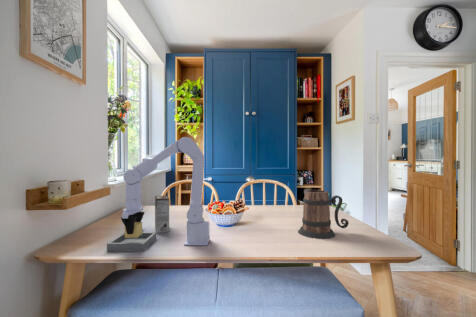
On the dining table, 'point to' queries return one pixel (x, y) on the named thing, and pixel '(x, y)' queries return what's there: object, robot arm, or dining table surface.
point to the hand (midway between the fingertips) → (133, 231)
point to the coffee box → (161, 214)
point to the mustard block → (135, 231)
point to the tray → (131, 242)
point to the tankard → (319, 215)
